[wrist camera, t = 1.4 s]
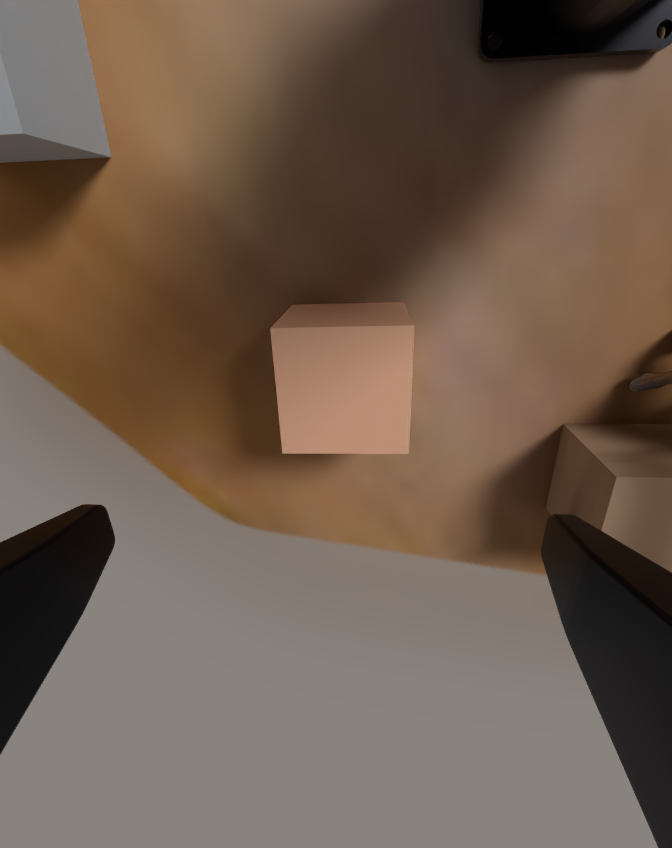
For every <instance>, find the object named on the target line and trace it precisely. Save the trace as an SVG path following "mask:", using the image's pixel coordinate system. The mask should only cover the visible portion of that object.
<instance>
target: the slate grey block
mask: <svg viewBox="0 0 672 848" xmlns="http://www.w3.org/2000/svg"><path fill="white" fill-rule="evenodd" d="M108 157H111V153H110V148H109V144H108V139H107V135H106V130H105V125H104V121H103V116H102V111H101V107H100V102H99V97H98V93H97V88H96V84H95V79H94V74H93V70H92V65H91V60H90V56H89V51H88V46H87V42H86V37H85V33H84V28H83V23H82V19H81V14H80V9H79V5H78V0H0V163H5V162H25V161H46V160H66V159H87V158H108Z"/></svg>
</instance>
